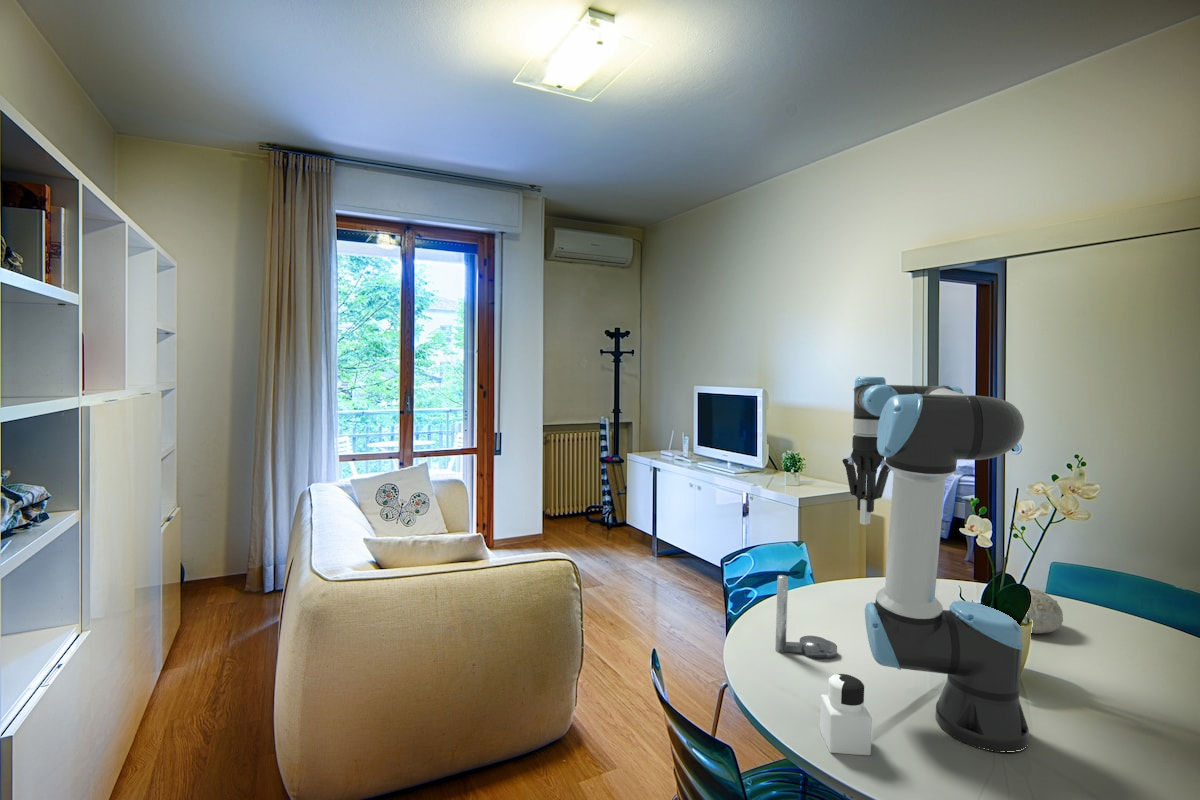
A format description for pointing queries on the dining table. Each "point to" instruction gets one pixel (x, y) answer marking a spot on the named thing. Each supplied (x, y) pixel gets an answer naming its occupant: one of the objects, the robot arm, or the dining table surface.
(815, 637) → the crank handle
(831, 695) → the medicine bottle
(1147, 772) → the dining table surface
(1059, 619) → the grey rock
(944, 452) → the robot arm
